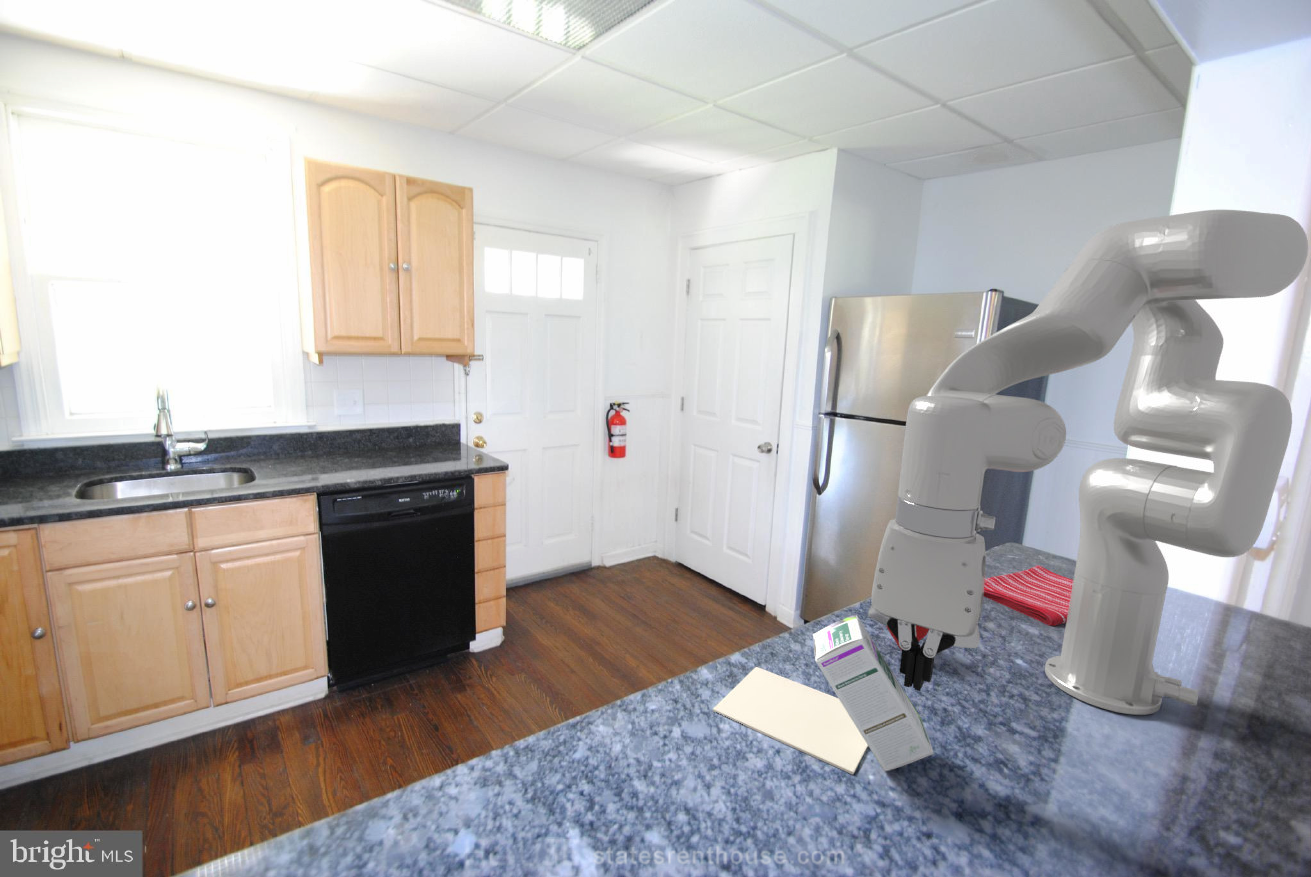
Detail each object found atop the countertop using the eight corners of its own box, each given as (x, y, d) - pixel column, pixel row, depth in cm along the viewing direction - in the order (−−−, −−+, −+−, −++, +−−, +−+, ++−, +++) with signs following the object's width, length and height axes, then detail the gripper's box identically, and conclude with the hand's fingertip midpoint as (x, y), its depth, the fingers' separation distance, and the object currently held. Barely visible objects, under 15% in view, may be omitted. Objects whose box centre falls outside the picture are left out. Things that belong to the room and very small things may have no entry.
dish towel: (959, 590, 111) (961, 577, 111) (1036, 574, 121) (1038, 562, 121) (1052, 631, 96) (1054, 616, 96) (1130, 608, 106) (1133, 595, 106)
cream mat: (883, 717, 71) (883, 715, 70) (853, 774, 61) (853, 772, 61) (755, 668, 80) (756, 666, 80) (712, 711, 70) (712, 708, 70)
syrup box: (936, 754, 60) (865, 635, 59) (883, 774, 61) (813, 658, 61) (922, 720, 65) (857, 611, 65) (874, 739, 67) (810, 632, 66)
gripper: (1023, 524, 58) (997, 692, 61) (870, 497, 66) (854, 646, 69) (1019, 544, 52) (990, 729, 55) (850, 511, 60) (834, 673, 63)
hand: (914, 682), depth 62 cm, fingers closed
